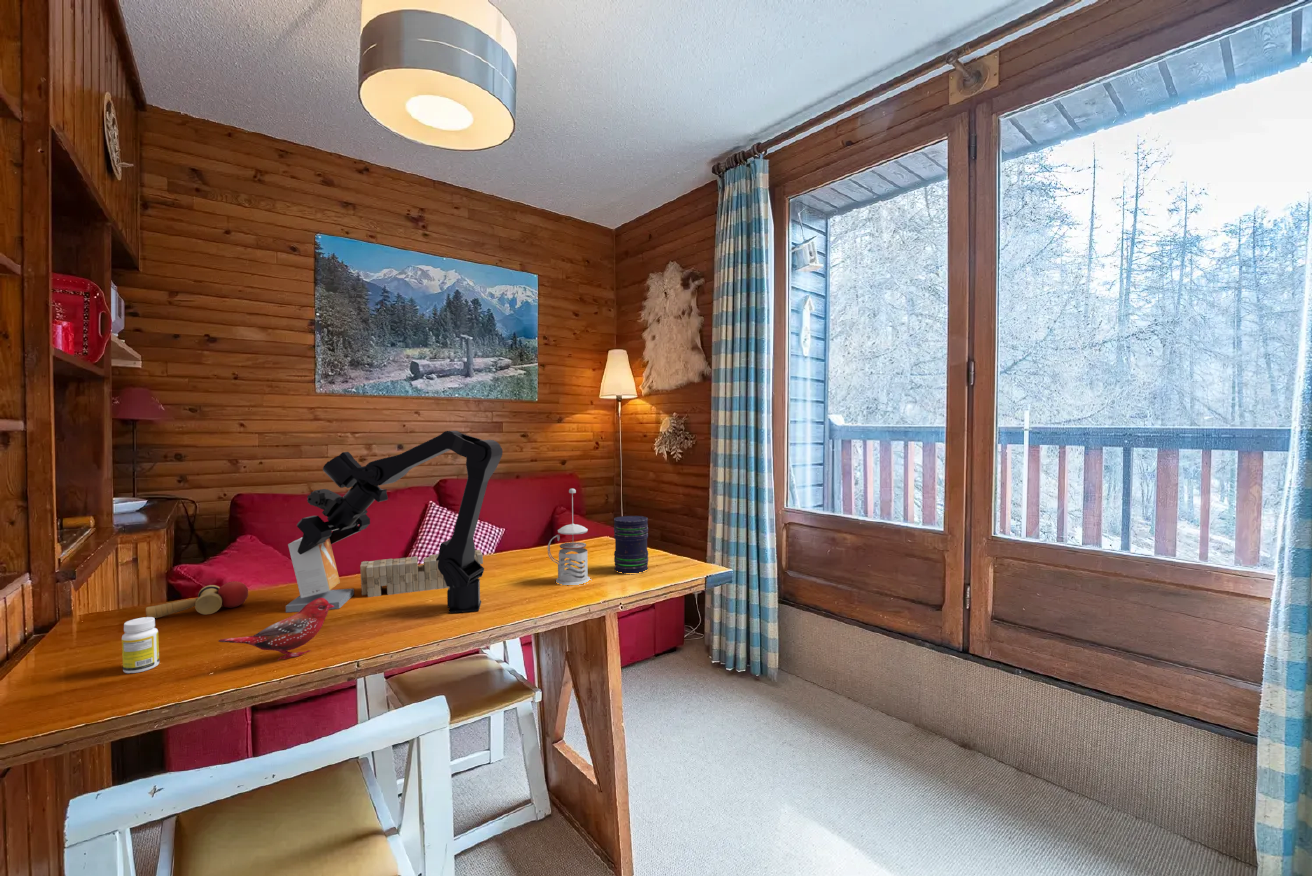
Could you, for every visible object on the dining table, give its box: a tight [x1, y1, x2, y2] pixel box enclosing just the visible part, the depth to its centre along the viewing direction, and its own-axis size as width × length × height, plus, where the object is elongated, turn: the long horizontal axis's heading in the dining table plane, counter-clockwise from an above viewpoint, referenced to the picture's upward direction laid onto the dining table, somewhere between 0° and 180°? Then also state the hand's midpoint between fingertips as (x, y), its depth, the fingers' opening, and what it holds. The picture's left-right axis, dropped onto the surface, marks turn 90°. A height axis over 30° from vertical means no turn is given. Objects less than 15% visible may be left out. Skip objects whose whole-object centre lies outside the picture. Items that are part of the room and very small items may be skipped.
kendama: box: [145, 580, 249, 619], centre depth 128 cm, size 8×6×18 cm
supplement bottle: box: [121, 617, 160, 674], centre depth 98 cm, size 5×5×8 cm
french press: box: [547, 488, 592, 586], centre depth 151 cm, size 10×12×25 cm
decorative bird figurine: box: [218, 598, 334, 661], centre depth 101 cm, size 3×18×10 cm, turn 134°
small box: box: [287, 537, 341, 598], centre depth 132 cm, size 8×6×13 cm
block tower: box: [359, 549, 484, 598], centre depth 146 cm, size 8×8×29 cm
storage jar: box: [613, 515, 649, 573], centre depth 161 cm, size 10×10×15 cm
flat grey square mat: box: [285, 588, 355, 613], centre depth 133 cm, size 11×11×2 cm
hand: (313, 548), depth 132 cm, fingers closed on small box, 9 cm apart
